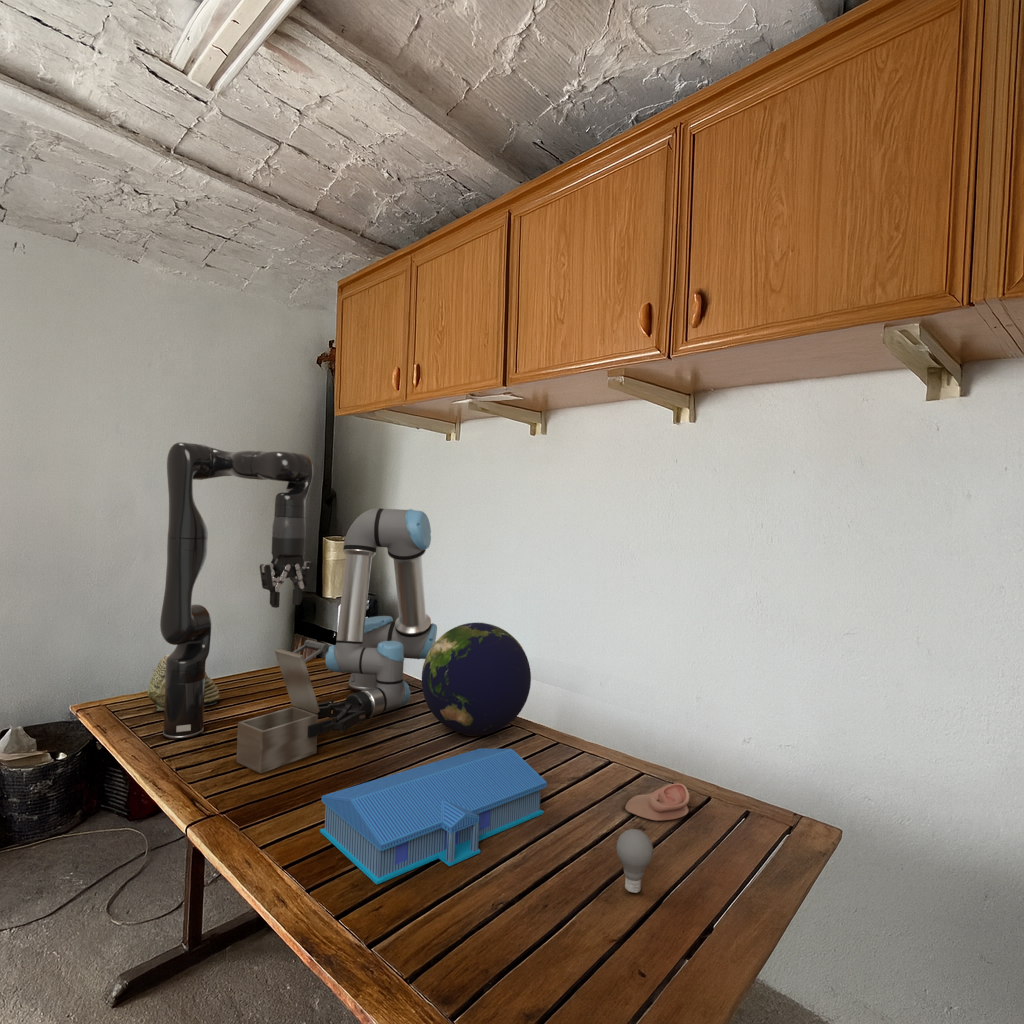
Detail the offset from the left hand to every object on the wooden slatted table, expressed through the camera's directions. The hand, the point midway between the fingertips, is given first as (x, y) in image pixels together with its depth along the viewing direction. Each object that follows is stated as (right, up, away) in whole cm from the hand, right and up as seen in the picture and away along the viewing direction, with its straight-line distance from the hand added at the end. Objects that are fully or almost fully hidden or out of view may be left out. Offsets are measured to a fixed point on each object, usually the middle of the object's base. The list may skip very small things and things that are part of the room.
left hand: (286, 605), depth 152 cm
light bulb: (+75, -41, -47) cm, 97 cm away
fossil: (-42, -34, +33) cm, 63 cm away
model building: (+40, -39, -28) cm, 63 cm away
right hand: (+1, -31, +4) cm, 31 cm away
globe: (+44, -38, +22) cm, 62 cm away
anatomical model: (+85, -41, -17) cm, 96 cm away
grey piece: (+1, -19, +3) cm, 20 cm away
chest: (-2, -37, 0) cm, 37 cm away
